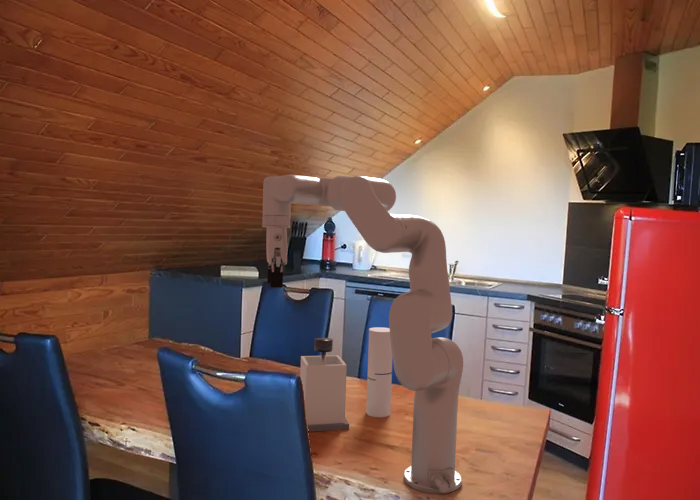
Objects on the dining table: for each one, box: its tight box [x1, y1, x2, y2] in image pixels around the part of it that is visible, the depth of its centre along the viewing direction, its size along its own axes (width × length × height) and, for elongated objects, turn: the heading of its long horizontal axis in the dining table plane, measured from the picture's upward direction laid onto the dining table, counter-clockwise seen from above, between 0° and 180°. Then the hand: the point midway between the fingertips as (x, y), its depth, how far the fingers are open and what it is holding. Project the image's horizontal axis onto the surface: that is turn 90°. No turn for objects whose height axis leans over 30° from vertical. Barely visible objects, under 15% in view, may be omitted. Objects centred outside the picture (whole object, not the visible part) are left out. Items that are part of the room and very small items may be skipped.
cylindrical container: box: [365, 326, 393, 418], centre depth 166 cm, size 7×7×25 cm
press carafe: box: [299, 354, 350, 432], centre depth 158 cm, size 13×13×18 cm
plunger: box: [314, 337, 334, 365], centre depth 157 cm, size 9×9×22 cm
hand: (274, 285), depth 154 cm, fingers open, 9 cm apart
